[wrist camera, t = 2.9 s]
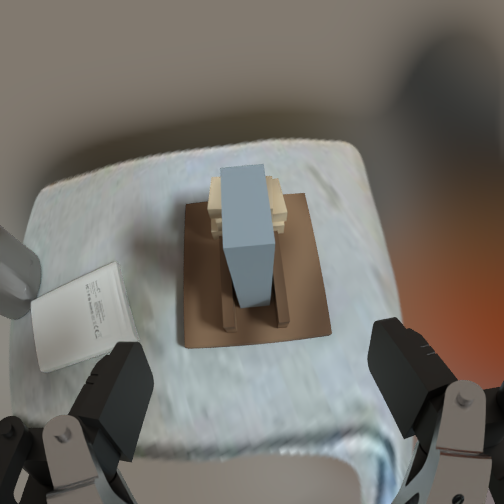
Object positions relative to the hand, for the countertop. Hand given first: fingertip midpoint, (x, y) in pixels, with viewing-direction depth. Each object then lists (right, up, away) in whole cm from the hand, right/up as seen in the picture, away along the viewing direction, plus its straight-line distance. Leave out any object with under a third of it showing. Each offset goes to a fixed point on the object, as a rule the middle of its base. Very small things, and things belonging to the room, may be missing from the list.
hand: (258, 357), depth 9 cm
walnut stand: (0, +2, +17) cm, 17 cm away
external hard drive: (-17, -4, +15) cm, 24 cm away
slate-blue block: (0, +1, +15) cm, 15 cm away
